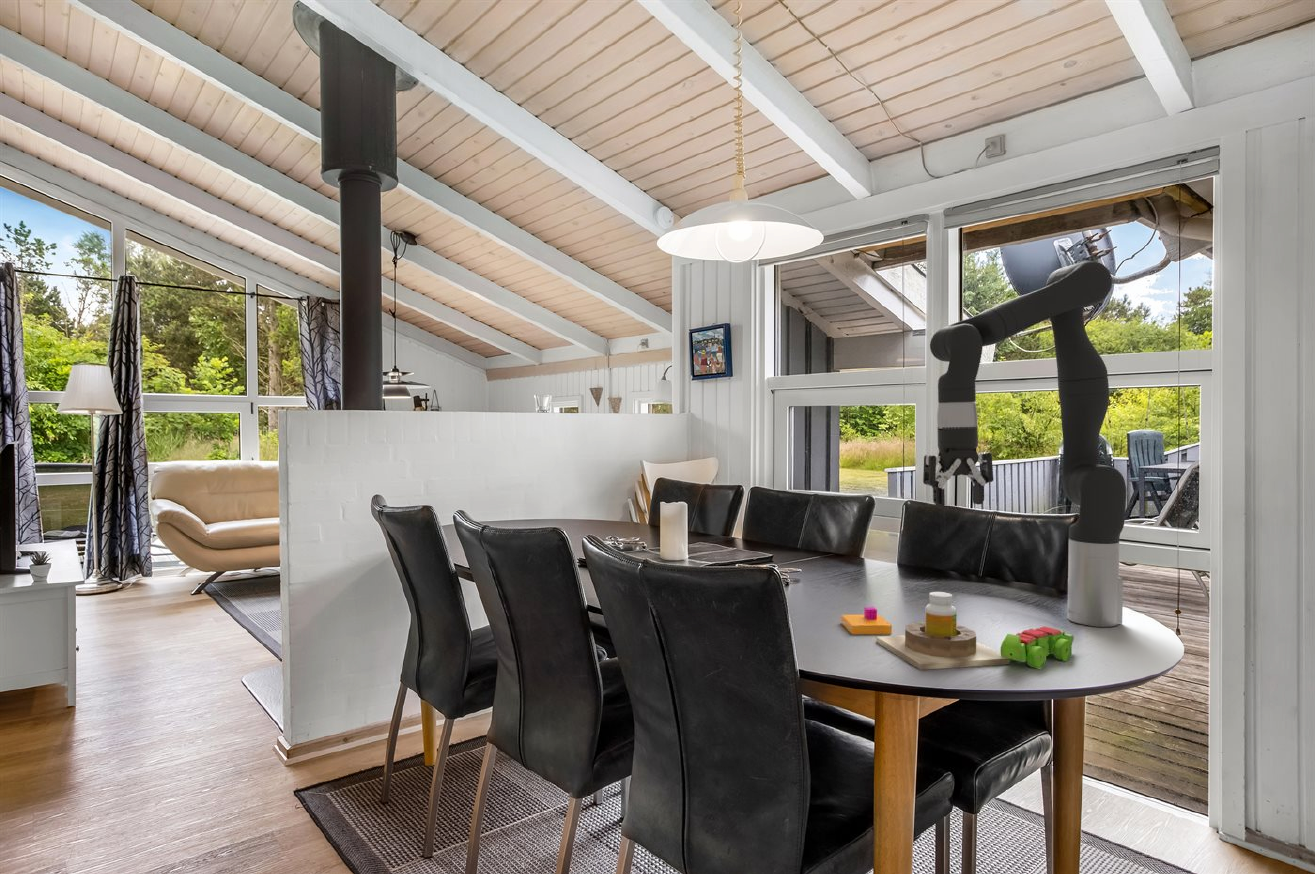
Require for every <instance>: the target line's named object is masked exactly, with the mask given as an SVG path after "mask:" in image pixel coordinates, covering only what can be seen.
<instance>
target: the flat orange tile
mask: <svg viewBox="0 0 1315 874" xmlns="http://www.w3.org/2000/svg"><path fill="white" fill-rule="evenodd" d="M863 611H864V614H841V615H840V616H841V617H840V618H841V620H840V621H841V624H842V625H843V626H844V628H846V629H847V631H848V632H849V633H850V634H852V635H892V629H893V628H892V627H893V626H892V624H891V623H889V622H888V621H887V619H884V617H882V616H881V615H880V614H878V609H877V608H876V607H874V606H865V607H863Z"/></svg>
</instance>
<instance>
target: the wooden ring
mask: <svg viewBox="0 0 1315 874" xmlns="http://www.w3.org/2000/svg"><path fill="white" fill-rule="evenodd" d="M904 633H905V634H904V635H905V646H906V647H908V648H909V649H911V650H913V651H914V652H918V653H922V654H925V655H929V656H936V657H946V658H957V657H968V656H970V655H973V654H975V653H976V642H977V634H976V631H975V630H973V629H971V628H968V627H966V626H964V625H963V626H962V625H959V624H956V636H948V637H945V636H935V635H931V634H926V633H925V621H919V622H918V621H917V622H916V621H915V622H912V623H909V624H906V625H905V631H904Z"/></svg>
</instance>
